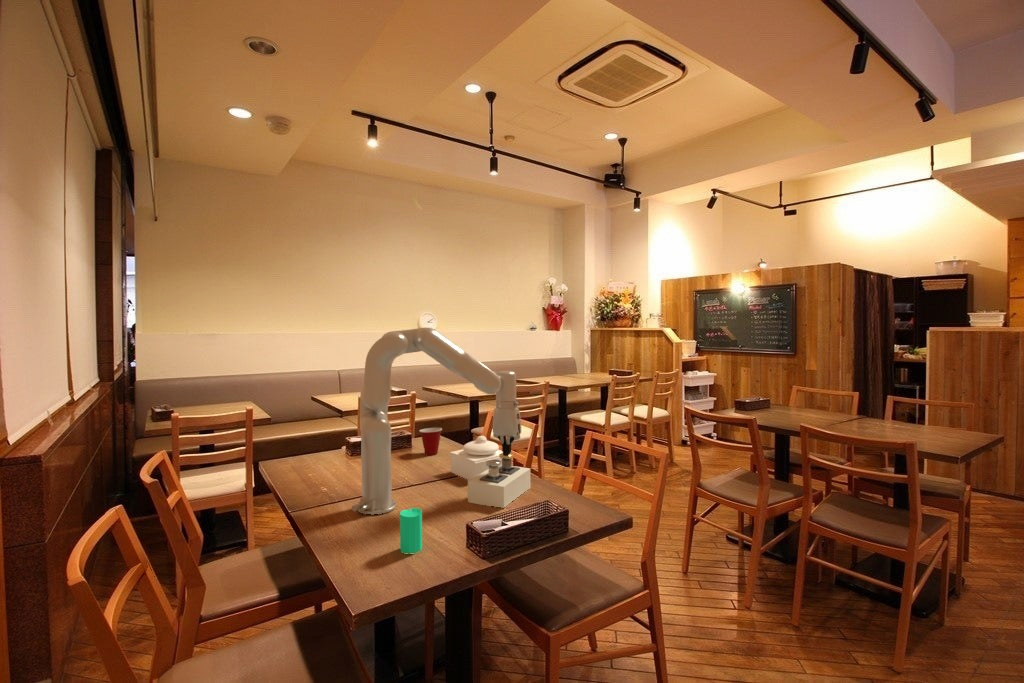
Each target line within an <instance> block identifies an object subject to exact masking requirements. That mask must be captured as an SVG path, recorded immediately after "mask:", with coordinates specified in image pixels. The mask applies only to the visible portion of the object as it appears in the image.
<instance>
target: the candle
mask: <svg viewBox="0 0 1024 683" xmlns="http://www.w3.org/2000/svg"><path fill="white" fill-rule="evenodd" d="M399 538H400V541H399V545H400V546H399V550H401V551H400V553H401V552H403V553H408V554H410V553H416V552H418V551H420V550H421V549H422V550H423V510H422V509H420V508H418V507H410V508H409V509H402V510H401V511H400V512H399ZM422 550H421V551H422Z"/></svg>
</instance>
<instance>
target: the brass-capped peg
mask: <svg viewBox="0 0 1024 683" xmlns="http://www.w3.org/2000/svg"><path fill="white" fill-rule="evenodd" d="M499 458H501V459H502V471H507V472H510V471H511V466H512V459H514V458H515V456H514V453H512V452H511V453H510V454H509V455H503V453H501V454H499Z"/></svg>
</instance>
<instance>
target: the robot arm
mask: <svg viewBox="0 0 1024 683" xmlns="http://www.w3.org/2000/svg"><path fill="white" fill-rule="evenodd" d="M419 352H423V353H425V354H426V355H427V356H429V357H430V358H432V359H433V360H434V361H436V362H437V363H439V364H440V365H442V366H443V367H444V368H445V369H447V370H448V371H450V372H452V373H453V374H456V375H458V376H460V377H462V378H463V379H465V380H467V381H468V382H469V383H471V384H473V386H474V387H475V388H476V389H477V390H478V391H479V392H481V393H484V394H486V395H495V408H494V410H493V415H492V433H493V435H492V437H493V438H496V439H498V440H499V442H500V444H501V451H502V452H503V455H509V454H510V453H512V443H513V442H514V441H518V440H520V439H521V434H522V419H521V413H520V409H519V408H518V407H520V405H521V404H520V402H519V401H518V400H517V374H516V372H514V371H512V370H501V371H500V370H499V371H493V370H491V369H490V368H489V367H488V366H486V365H484V364H483V363H482V362H480V361H478V360H477V359H476V358H474V357H473V356H472V355H470V353H468V352H467V351H465V350H463V349H462V348H460V347H459V346H458V345H456V343H454V342H452V341H451V340H450V339H449V338H447V337H445V336H444V335H443V334H442V333H440V332H439V331H437V330H436V329H435V328H432V327H418V328H413V329H412V328H411V329H402V330H393V331H392V330H391V331H388V332H385V333H384V334H383V335H382V337H380V338H379V339H378V340H376V341H375V342H374V343H373V344H372V346H371V347H370V348H369V350H368V352H367V355H366V358H365V363H364V375H363V376H364V377H363V386H362V388H361V390H360V396H359V399H360V400H359V430H360V438H361V439H360V441H361V444H360V446H361V448H360V449H361V450H360V451H361V454H360V455H361V456H360V459H361V462H360V463H361V497H360V498H359V501H358V503H356V504H354V505H352V506H351V510H352V512H355V513H356V511H358V512H359V513H360V514H362V513H363V514H362V515H366V514H371V515H370V516H375V515H374V514H378V515H382V513H383V514H387V513H389V512H391V511H393V510H395V509H396V508H397V501H396V500H394V499H392V494H393V493H392V426H391V423H390V420H389V419H388V418H389V417H388V413H389V411H388V410H389V404H390V401H391V399H392V398H391V396H392V395H391V375H392V366H393V363H394V361H395V360H396V358H398V357H401V356H403V355H405V354H411V353H412V354H413V353H419Z"/></svg>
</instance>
